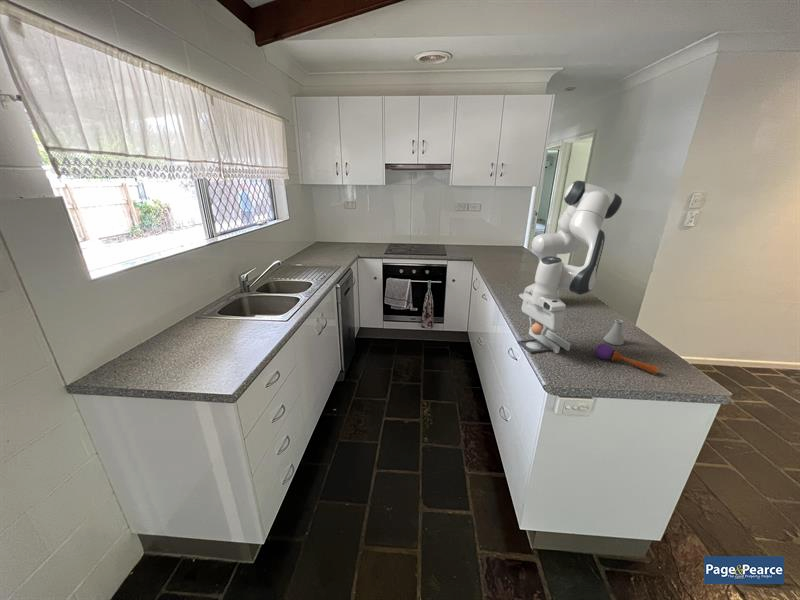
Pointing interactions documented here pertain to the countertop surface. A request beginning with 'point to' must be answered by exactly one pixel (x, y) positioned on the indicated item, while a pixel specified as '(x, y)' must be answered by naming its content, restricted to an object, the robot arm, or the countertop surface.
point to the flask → (615, 333)
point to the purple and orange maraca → (622, 358)
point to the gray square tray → (533, 345)
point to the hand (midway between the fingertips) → (537, 330)
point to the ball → (537, 328)
